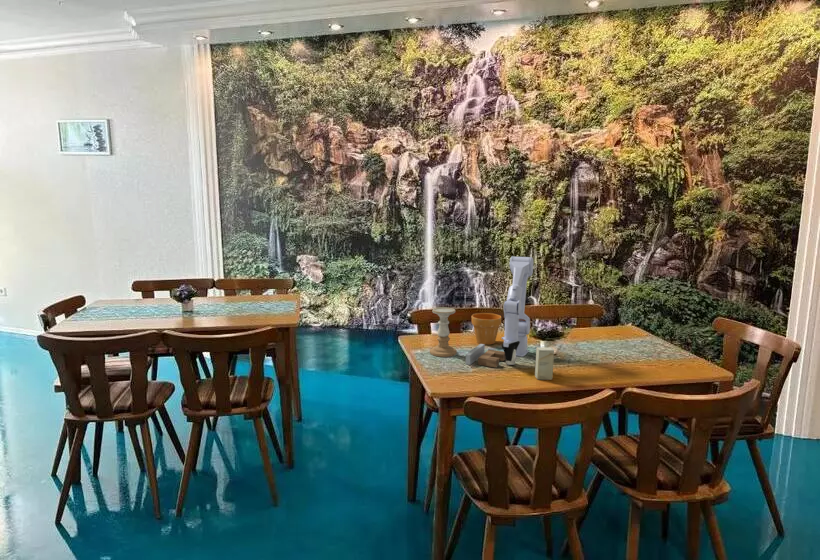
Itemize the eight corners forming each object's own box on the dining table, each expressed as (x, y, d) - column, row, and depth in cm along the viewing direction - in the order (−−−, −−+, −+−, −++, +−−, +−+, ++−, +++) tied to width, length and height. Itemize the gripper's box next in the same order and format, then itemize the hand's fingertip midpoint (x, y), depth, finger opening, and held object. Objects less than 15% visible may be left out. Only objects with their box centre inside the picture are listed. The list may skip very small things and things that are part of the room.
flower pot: (474, 337, 295) (474, 311, 293) (502, 339, 291) (503, 314, 289) (468, 344, 282) (468, 318, 280) (497, 347, 278) (498, 320, 275)
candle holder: (435, 358, 261) (435, 313, 257) (425, 350, 272) (426, 307, 269) (461, 355, 265) (462, 311, 261) (450, 348, 276) (451, 306, 273)
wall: (480, 353, 268) (480, 343, 268) (484, 353, 267) (484, 344, 267) (465, 364, 252) (465, 354, 252) (469, 365, 252) (470, 354, 251)
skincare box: (537, 379, 234) (538, 350, 232) (534, 376, 238) (535, 346, 236) (553, 379, 234) (554, 350, 232) (550, 376, 238) (551, 346, 236)
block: (488, 356, 264) (489, 349, 263) (506, 358, 260) (506, 352, 260) (477, 364, 252) (478, 357, 251) (495, 367, 248) (496, 360, 248)
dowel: (507, 361, 255) (507, 348, 254) (516, 362, 253) (516, 349, 252) (504, 364, 251) (505, 350, 250) (514, 365, 250) (514, 351, 249)
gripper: (507, 323, 258) (506, 353, 260) (496, 331, 245) (495, 362, 247) (523, 325, 255) (522, 355, 257) (513, 333, 242) (512, 365, 244)
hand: (510, 359), depth 252 cm, fingers closed on dowel, 4 cm apart
